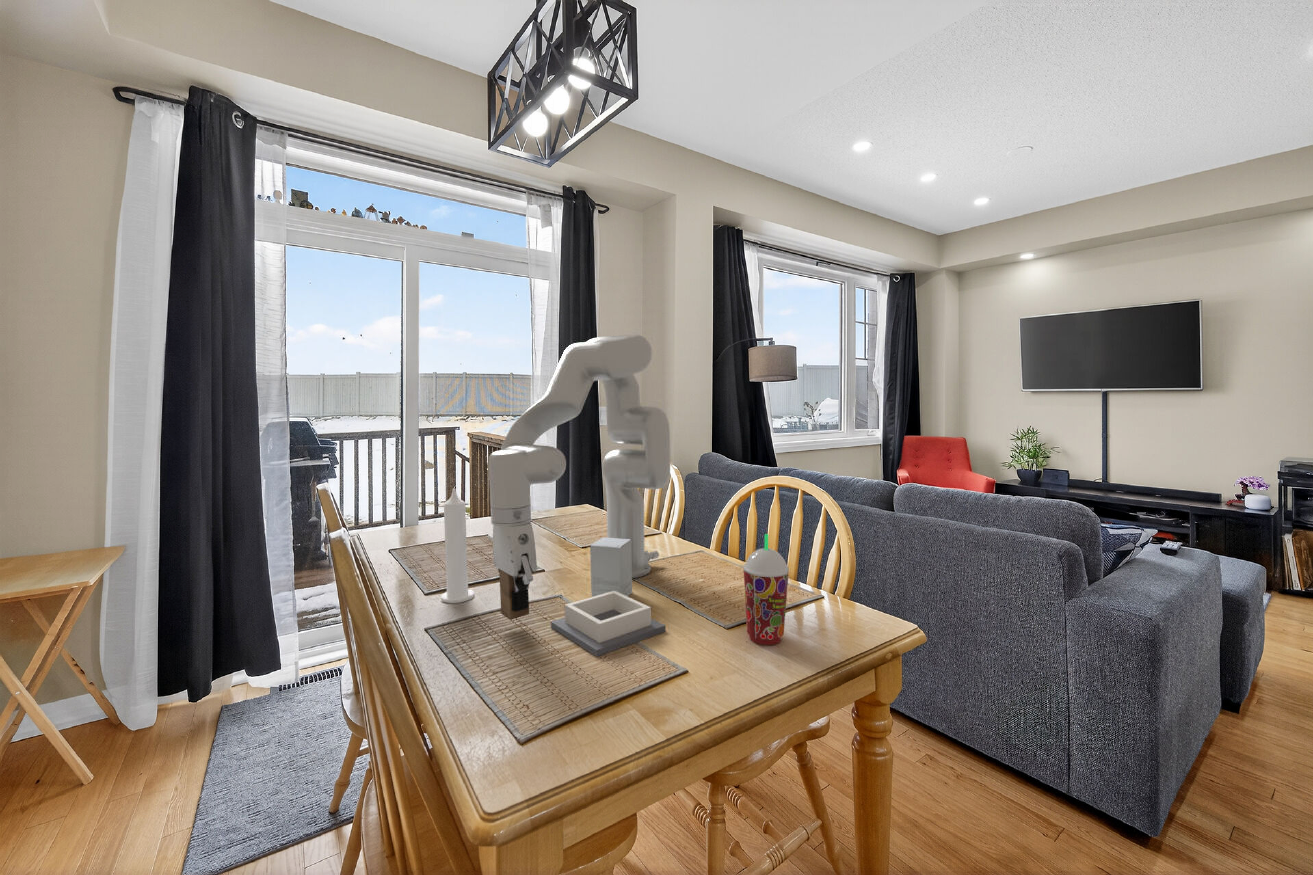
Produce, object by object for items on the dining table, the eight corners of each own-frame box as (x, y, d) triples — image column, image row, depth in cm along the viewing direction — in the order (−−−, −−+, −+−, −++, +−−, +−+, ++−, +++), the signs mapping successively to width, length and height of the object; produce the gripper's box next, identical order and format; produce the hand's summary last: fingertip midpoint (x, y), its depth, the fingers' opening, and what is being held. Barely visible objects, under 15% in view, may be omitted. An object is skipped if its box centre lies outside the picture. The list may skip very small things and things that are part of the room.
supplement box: (633, 592, 130) (632, 538, 129) (620, 604, 123) (620, 547, 122) (603, 588, 133) (603, 536, 132) (590, 600, 126) (589, 544, 125)
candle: (463, 604, 123) (459, 491, 121) (434, 602, 125) (430, 490, 123) (480, 592, 130) (476, 486, 128) (452, 590, 132) (448, 485, 130)
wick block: (519, 607, 113) (518, 564, 113) (529, 614, 110) (527, 569, 109) (501, 613, 111) (499, 569, 110) (510, 619, 108) (508, 574, 107)
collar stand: (616, 607, 121) (616, 585, 121) (665, 631, 109) (665, 607, 109) (551, 627, 111) (550, 604, 111) (596, 656, 99) (596, 630, 99)
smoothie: (778, 653, 100) (780, 542, 98) (735, 642, 104) (736, 536, 103) (794, 635, 107) (795, 532, 105) (752, 626, 111) (753, 526, 110)
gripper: (550, 518, 105) (553, 613, 107) (510, 504, 117) (513, 589, 119) (512, 525, 100) (516, 625, 102) (475, 510, 113) (479, 598, 114)
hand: (514, 604), depth 110 cm, fingers closed on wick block, 4 cm apart
